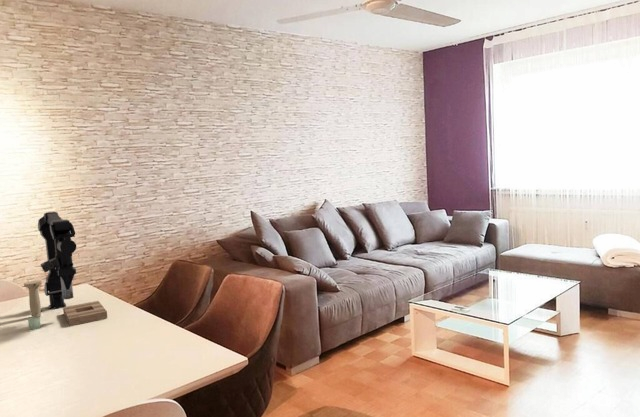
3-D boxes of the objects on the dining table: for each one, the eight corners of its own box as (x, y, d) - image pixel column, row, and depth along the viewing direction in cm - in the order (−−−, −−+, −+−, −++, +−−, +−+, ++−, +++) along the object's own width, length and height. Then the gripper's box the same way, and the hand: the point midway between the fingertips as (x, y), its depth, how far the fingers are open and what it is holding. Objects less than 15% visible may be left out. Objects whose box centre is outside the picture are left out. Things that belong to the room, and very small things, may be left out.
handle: (46, 315, 206) (42, 281, 205) (29, 319, 202) (25, 284, 200) (43, 313, 210) (39, 279, 208) (26, 317, 205) (22, 283, 204)
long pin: (62, 297, 200) (59, 274, 199) (72, 296, 202) (70, 272, 201) (63, 300, 197) (60, 276, 196) (73, 298, 199) (71, 274, 198)
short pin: (28, 328, 192) (27, 318, 191) (40, 325, 194) (39, 316, 193) (29, 330, 188) (28, 320, 188) (41, 328, 190) (40, 318, 190)
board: (63, 313, 208) (63, 307, 208) (98, 307, 216) (98, 300, 215) (69, 326, 191) (68, 318, 191) (107, 318, 199) (106, 311, 199)
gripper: (39, 250, 201) (43, 287, 203) (42, 257, 185) (46, 297, 187) (69, 247, 207) (73, 282, 209) (74, 253, 191) (78, 291, 193)
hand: (67, 288), depth 199 cm, fingers closed on long pin, 4 cm apart
